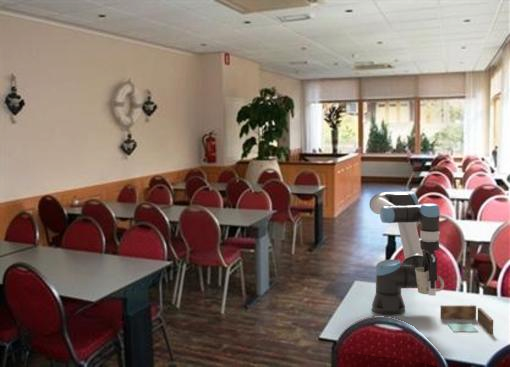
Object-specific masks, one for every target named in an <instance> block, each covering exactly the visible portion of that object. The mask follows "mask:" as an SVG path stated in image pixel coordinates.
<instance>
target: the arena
mask: <svg viewBox="0 0 510 367" xmlns="http://www.w3.org/2000/svg"><path fill="white" fill-rule="evenodd" d="M440 320H477V322H478V323H479V324H480V326H482V327H483V328H484V330H486V332H487V333H488V334H489V335H494V319H493V318H492V317H491V316H490V315H489V314H488V313H487V312H486V311H485V310H484V309H482V307H477V306H476V305H475V304H474V305H473V304H471V305H467V304H466V305H463V304H462V305H457V304H454V305H451V304H449V305H443V304H442V305H440ZM446 324H447V326H448V327H449V328H450V330H451V331H452V332H453V333H479V330H478V329H476V327H475V326H474V325H473V324H472V323H471V322H469V321H457V322H456V321H446Z"/></svg>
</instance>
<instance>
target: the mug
mask: <svg viewBox="0 0 510 367" xmlns="http://www.w3.org/2000/svg"><path fill="white" fill-rule="evenodd" d="M415 272H416V279H417V287H418V288H417V292H418V293H419V294H420V295H421V294H422V295H429V281H428V279H429V270H428V271H425V272H424V267H419V268H416V269H415ZM437 280H438V281H439V282H440V287H439V288H438V289H437V288H436V293H437V292H440V291H442V290H444V287H445V282H444V279H443V278H442V277H440V276H439V275H437Z"/></svg>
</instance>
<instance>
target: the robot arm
mask: <svg viewBox="0 0 510 367" xmlns="http://www.w3.org/2000/svg"><path fill="white" fill-rule="evenodd" d="M369 208H370V210H371V211H372V212H373V213H374V214H375V215H376V214H377V215H380V216H379V217H380V222H382V223H383V224H394V223H395V224H396V223H397V226H398V231H399V237H400V241H401V245H402V251H403V255H404V259H403V260H402V262H401V260H400V259H393V258H392V259H384V260H381V261H379V262H377V264H376V266H375V272H374V275H375V293H374V298H373V300H372V304H371V309H372V311H373V312H374V313H376V314H379V315H384V316H385V315H386V316H397V315H402V314H404V313H405V312H406V305H405V301H404V299H403V296H402V289H418V287H417V279H416V272H415V269H416V268H419V267H424V272H425V271H428V270H429V279H428V281H429V294H428V296H429V297H431V296H434V297H435V296H436V293H437V291H436V289H437V288H436V285H437V284H436V283H437V281H438V279H437V276H438V257H437V256H436V253H435V251H438V250H439V249H440V241H439V240H440V235H441V232H440V214H441V212H440V206H439V204H437V203H432V202H431V203H430V202H429V203H422V204H421V203H419V200H418V197H417V195H416V193H415V192H414V191H406V190H405V191H404V190H403V191H382V192H378V193H376V194H375V195H373V196H372V197H371V199H370V200H369ZM417 223H420V233H419V232H418V231H419V230H418V228H417ZM419 234H420V237H419Z"/></svg>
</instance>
